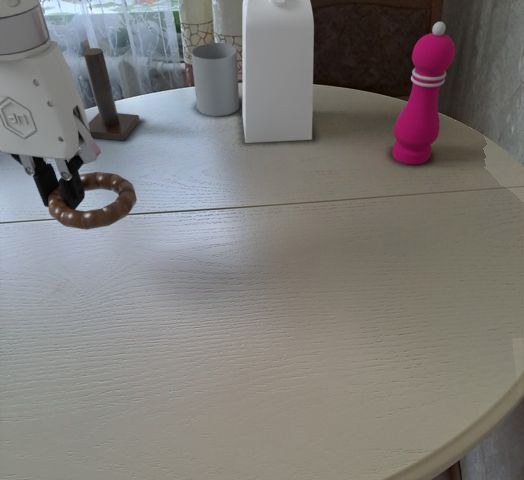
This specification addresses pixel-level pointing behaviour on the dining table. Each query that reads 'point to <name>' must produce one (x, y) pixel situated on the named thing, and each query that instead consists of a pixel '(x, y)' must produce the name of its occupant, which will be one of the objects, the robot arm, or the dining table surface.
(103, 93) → the brown post
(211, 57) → the cup
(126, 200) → the ring
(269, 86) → the milk
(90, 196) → the dining table surface
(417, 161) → the pepper mill
